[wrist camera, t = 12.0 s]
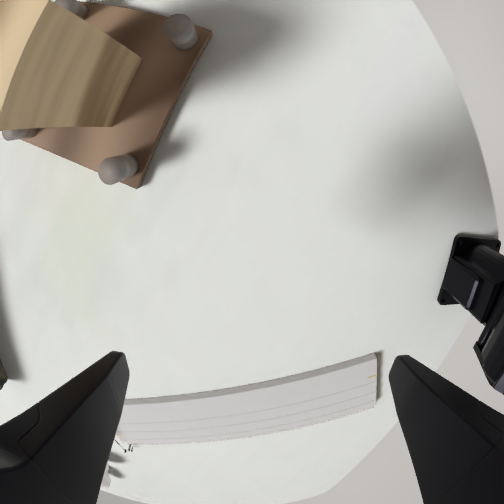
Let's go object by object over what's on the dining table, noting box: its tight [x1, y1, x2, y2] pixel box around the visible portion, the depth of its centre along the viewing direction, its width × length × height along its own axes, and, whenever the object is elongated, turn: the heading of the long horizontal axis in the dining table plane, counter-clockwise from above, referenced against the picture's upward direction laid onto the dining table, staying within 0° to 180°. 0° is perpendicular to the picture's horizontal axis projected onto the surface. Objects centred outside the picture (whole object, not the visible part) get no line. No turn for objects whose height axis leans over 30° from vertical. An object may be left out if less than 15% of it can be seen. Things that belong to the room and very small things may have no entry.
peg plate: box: [2, 0, 212, 189], centre depth 15 cm, size 12×12×4 cm
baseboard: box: [114, 353, 377, 452], centre depth 27 cm, size 30×3×10 cm
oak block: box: [0, 0, 143, 131], centre depth 11 cm, size 5×5×11 cm
